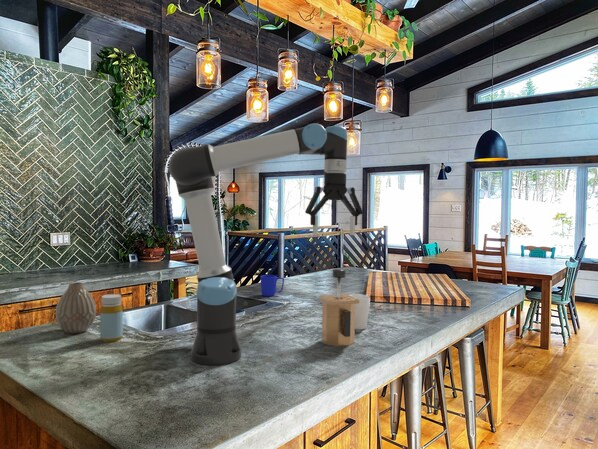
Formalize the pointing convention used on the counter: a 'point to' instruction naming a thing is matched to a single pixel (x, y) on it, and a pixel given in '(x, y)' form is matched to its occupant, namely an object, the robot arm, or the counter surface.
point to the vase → (75, 309)
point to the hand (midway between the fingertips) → (333, 235)
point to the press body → (338, 319)
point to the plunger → (339, 279)
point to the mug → (269, 285)
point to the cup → (361, 310)
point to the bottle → (111, 318)
